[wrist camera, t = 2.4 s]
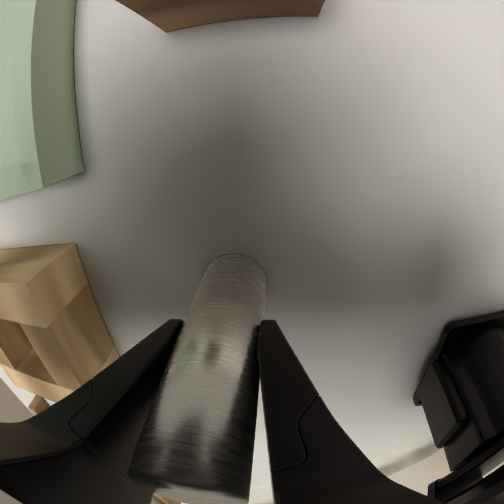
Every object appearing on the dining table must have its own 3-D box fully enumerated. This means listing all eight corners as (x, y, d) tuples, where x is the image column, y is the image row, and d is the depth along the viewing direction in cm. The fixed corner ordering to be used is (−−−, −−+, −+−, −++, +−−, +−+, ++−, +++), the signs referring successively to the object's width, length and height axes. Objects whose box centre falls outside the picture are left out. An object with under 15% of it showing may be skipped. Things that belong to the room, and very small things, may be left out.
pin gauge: (264, 252, 10) (241, 483, 3) (267, 306, 11) (253, 510, 4) (199, 255, 11) (106, 457, 4) (209, 307, 12) (151, 496, 5)
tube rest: (98, 416, 18) (90, 432, 16) (181, 500, 29) (179, 510, 28) (36, 394, 19) (28, 407, 17) (132, 488, 30) (130, 497, 28)
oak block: (75, 243, 11) (26, 284, 8) (127, 371, 14) (104, 417, 11) (-9, 250, 12) (-46, 278, 9) (38, 352, 15) (14, 385, 12)
